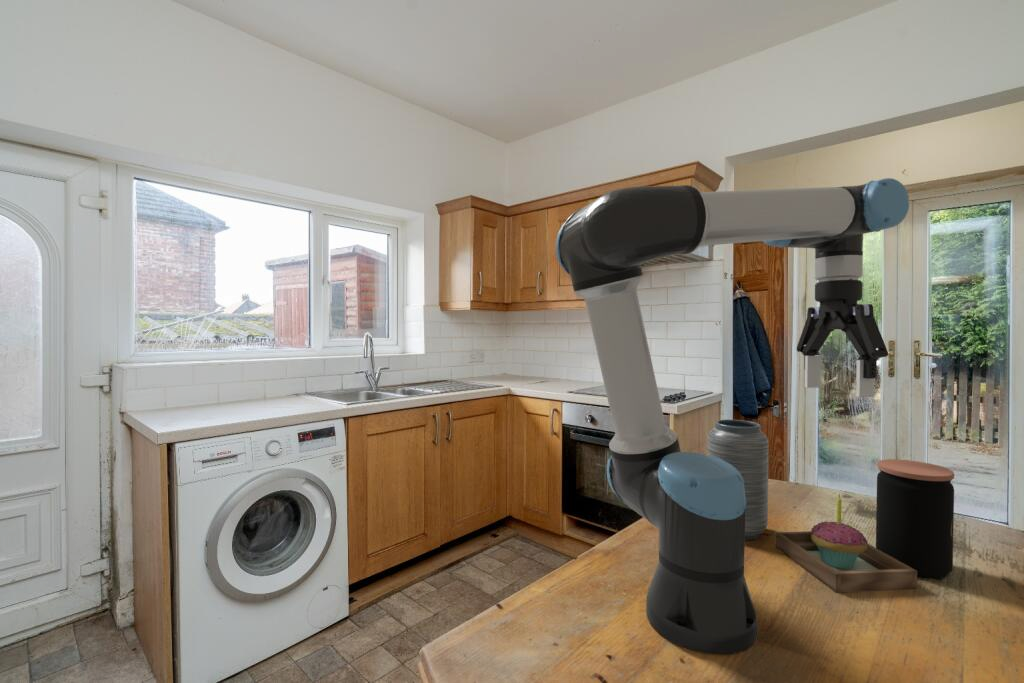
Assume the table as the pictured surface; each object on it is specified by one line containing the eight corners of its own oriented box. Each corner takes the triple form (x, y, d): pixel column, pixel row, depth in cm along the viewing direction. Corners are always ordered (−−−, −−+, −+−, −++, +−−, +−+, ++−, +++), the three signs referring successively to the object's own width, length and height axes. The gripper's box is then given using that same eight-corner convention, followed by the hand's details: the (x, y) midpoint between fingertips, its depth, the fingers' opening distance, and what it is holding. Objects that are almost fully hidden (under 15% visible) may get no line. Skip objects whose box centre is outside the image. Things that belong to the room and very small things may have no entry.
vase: (737, 517, 109) (738, 416, 108) (780, 538, 98) (782, 426, 97) (695, 524, 105) (696, 420, 105) (735, 546, 94) (736, 430, 94)
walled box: (835, 592, 78) (835, 573, 78) (775, 547, 94) (775, 532, 94) (916, 589, 79) (917, 571, 79) (843, 545, 95) (843, 530, 95)
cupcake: (811, 548, 93) (812, 486, 92) (866, 559, 88) (867, 495, 88) (809, 566, 86) (810, 499, 85) (869, 580, 81) (870, 509, 81)
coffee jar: (968, 584, 80) (970, 477, 80) (895, 578, 82) (897, 474, 82) (927, 555, 91) (929, 460, 90) (863, 550, 93) (865, 457, 92)
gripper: (916, 273, 79) (913, 401, 80) (812, 286, 104) (811, 384, 104) (872, 272, 79) (870, 401, 79) (778, 286, 103) (777, 384, 104)
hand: (836, 392), depth 92 cm, fingers open, 13 cm apart
